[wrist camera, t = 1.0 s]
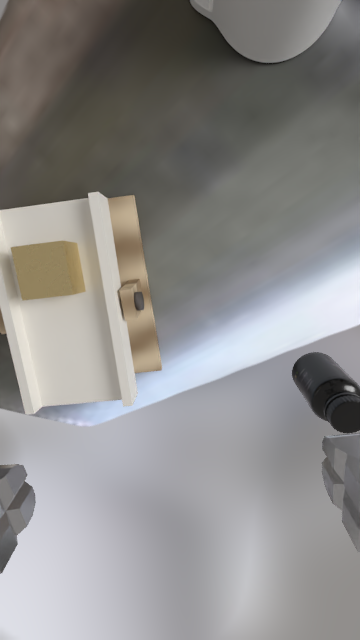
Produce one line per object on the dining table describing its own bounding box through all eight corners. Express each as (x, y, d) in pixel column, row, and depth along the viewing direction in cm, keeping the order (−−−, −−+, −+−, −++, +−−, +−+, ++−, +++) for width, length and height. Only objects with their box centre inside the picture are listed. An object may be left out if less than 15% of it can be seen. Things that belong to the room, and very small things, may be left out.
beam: (-3, 213, 37) (-23, 208, 33) (107, 198, 36) (98, 191, 32) (39, 402, 42) (25, 414, 38) (137, 393, 41) (132, 405, 37)
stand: (-7, 215, 40) (-49, 214, 33) (134, 195, 39) (121, 190, 32) (44, 378, 48) (19, 405, 41) (161, 367, 47) (157, 393, 40)
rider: (30, 248, 36) (10, 247, 32) (77, 242, 35) (62, 240, 32) (40, 296, 37) (22, 300, 33) (85, 291, 37) (72, 294, 33)
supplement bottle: (337, 350, 45) (387, 394, 34) (330, 388, 47) (374, 441, 36) (293, 350, 45) (327, 393, 34) (287, 387, 48) (318, 440, 36)
